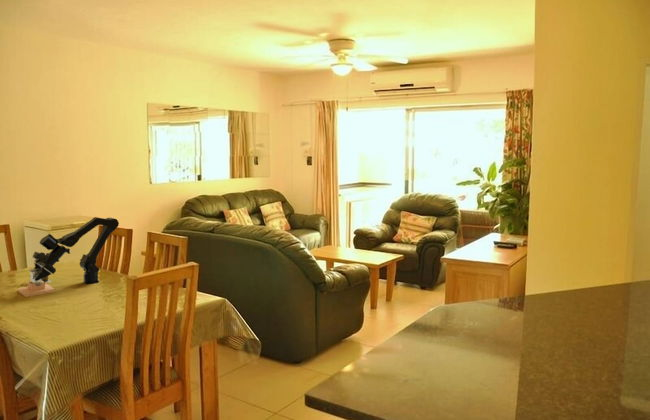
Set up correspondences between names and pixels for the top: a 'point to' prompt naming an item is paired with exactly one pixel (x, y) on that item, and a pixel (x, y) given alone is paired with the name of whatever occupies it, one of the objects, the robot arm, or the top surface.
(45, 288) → the stand
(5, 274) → the top surface
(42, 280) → the condiment
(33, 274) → the column
